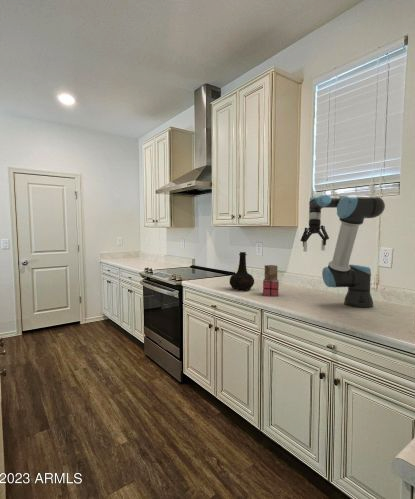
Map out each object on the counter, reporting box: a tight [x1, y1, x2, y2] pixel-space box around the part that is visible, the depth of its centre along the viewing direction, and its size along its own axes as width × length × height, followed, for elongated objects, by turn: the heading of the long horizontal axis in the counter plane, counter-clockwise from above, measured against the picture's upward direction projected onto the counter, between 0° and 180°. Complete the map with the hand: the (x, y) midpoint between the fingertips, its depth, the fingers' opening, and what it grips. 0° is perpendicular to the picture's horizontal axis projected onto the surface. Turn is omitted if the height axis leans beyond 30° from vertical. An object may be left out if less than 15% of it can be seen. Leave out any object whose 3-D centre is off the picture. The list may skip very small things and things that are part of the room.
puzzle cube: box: [262, 278, 279, 297], centre depth 202 cm, size 10×10×10 cm
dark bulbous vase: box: [229, 251, 255, 292], centre depth 219 cm, size 18×18×28 cm
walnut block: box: [264, 264, 278, 281], centre depth 202 cm, size 6×6×10 cm
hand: (313, 250), depth 198 cm, fingers open, 13 cm apart
